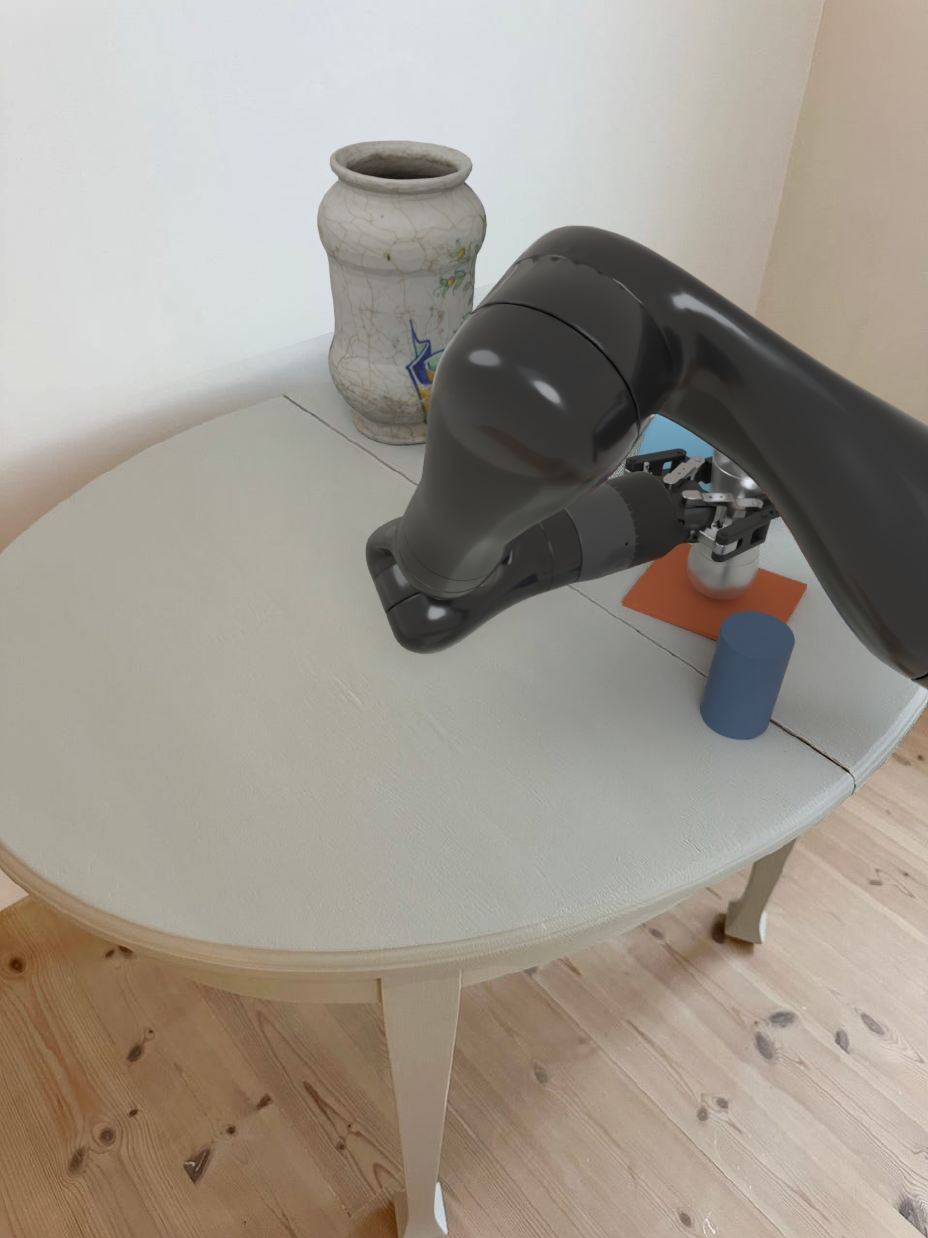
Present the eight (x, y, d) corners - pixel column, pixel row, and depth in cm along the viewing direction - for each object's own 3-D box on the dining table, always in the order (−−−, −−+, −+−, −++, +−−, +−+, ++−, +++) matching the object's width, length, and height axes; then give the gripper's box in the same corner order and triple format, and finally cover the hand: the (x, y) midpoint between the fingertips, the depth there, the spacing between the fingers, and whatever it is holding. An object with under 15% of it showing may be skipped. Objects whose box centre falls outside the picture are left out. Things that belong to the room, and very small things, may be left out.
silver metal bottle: (682, 604, 88) (728, 407, 75) (681, 561, 93) (724, 370, 80) (753, 613, 87) (812, 416, 74) (749, 569, 92) (803, 378, 80)
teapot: (649, 436, 114) (664, 345, 107) (784, 494, 105) (811, 399, 98) (586, 475, 107) (597, 381, 100) (725, 541, 98) (748, 443, 91)
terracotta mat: (806, 589, 92) (807, 584, 92) (765, 659, 85) (767, 654, 84) (671, 542, 98) (671, 537, 98) (621, 604, 90) (622, 599, 90)
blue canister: (777, 707, 80) (804, 626, 74) (755, 750, 76) (781, 668, 71) (714, 682, 82) (735, 601, 76) (690, 722, 79) (709, 640, 73)
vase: (507, 410, 119) (521, 150, 99) (427, 474, 107) (425, 193, 88) (389, 373, 126) (380, 124, 106) (302, 430, 114) (274, 161, 95)
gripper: (666, 536, 71) (833, 483, 77) (561, 447, 80) (718, 406, 87) (650, 614, 75) (809, 558, 82) (553, 521, 85) (702, 477, 91)
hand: (761, 480), depth 84 cm, fingers closed on silver metal bottle, 6 cm apart
